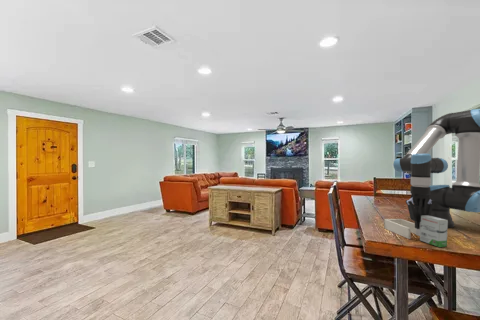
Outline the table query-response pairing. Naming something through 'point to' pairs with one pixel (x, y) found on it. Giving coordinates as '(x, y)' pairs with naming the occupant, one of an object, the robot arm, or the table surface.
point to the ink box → (433, 230)
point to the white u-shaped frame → (400, 227)
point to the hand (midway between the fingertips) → (419, 235)
